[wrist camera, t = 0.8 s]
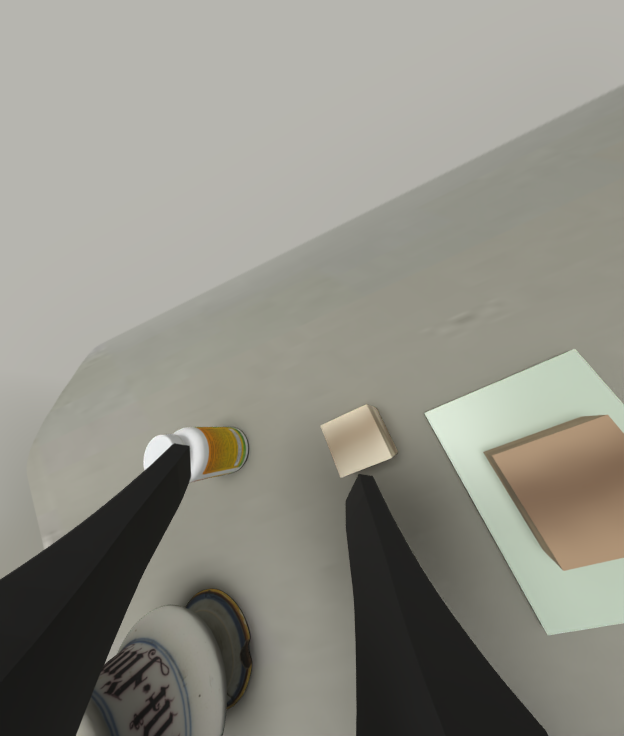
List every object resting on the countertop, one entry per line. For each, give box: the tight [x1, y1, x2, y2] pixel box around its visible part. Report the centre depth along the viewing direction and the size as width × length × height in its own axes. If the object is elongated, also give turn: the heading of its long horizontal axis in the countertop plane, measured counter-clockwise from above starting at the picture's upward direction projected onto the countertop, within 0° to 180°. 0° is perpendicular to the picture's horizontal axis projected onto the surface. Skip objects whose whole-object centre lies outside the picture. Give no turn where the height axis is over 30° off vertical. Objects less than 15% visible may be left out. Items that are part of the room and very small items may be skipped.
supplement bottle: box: [144, 427, 248, 483], centre depth 27 cm, size 5×5×10 cm
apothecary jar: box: [76, 589, 252, 736], centre depth 19 cm, size 12×12×18 cm
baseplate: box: [424, 349, 624, 635], centre depth 19 cm, size 16×12×1 cm
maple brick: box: [321, 404, 398, 478], centre depth 23 cm, size 4×4×5 cm
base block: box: [483, 415, 624, 571], centre depth 17 cm, size 7×7×3 cm
